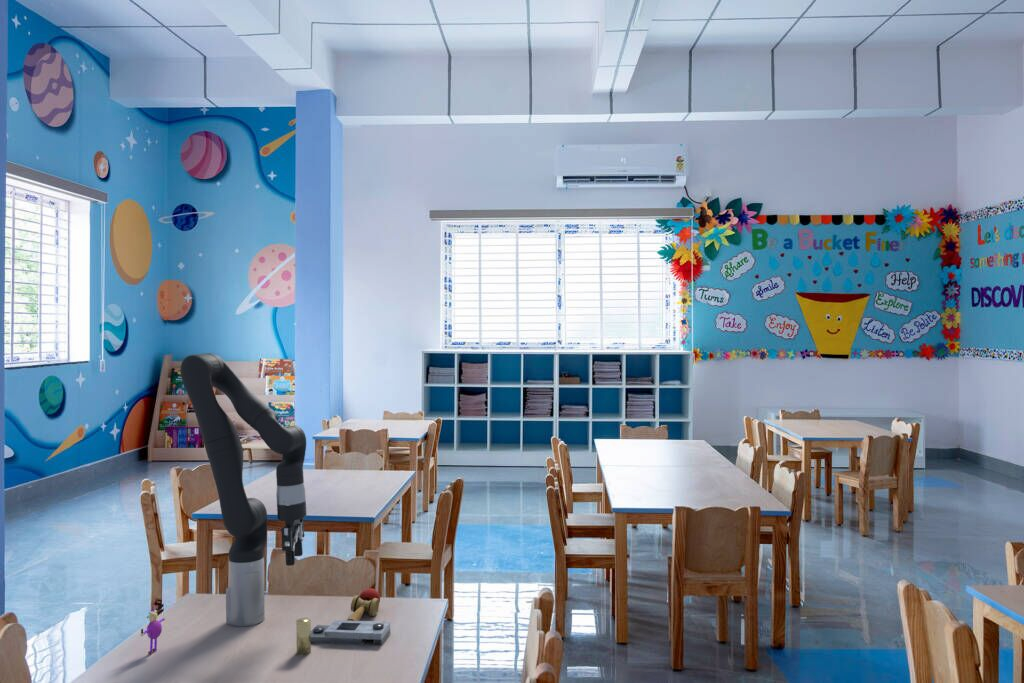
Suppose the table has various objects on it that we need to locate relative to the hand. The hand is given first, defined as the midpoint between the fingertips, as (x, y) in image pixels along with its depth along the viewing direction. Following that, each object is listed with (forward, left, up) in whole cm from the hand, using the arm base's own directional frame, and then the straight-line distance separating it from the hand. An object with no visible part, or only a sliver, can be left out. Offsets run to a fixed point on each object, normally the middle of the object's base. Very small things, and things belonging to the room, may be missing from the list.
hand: (294, 560), depth 207 cm
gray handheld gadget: (+17, -7, -18) cm, 25 cm away
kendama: (+16, +8, -18) cm, 26 cm away
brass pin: (+9, -17, -18) cm, 26 cm away
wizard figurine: (-28, -21, -18) cm, 39 cm away
